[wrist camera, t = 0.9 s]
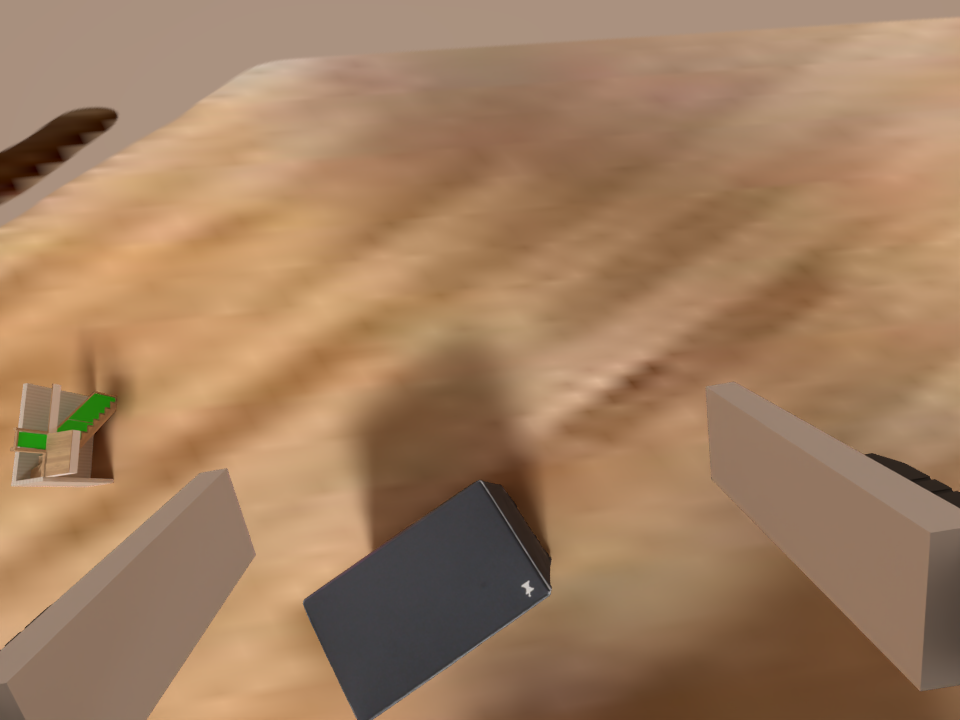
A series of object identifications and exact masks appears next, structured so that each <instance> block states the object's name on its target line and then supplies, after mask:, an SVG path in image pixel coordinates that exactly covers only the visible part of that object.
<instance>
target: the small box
mask: <svg viewBox="0 0 960 720" xmlns="http://www.w3.org/2000/svg"><path fill="white" fill-rule="evenodd" d="M551 560H552V559H551V557H549V555H548V553H547V552H546V551H545V550H544V549H543V548H542V547H541V545H540V542H539V540H537V538H536V536H535V535H534V534H533V532H532V531H531V529H530V528H529V527H528V525H527V523H526V522H525V520H524V517H523V516H522V515H521V514H520V512H519V511H518V509H517V506H516V504H515V503H514V501H513V500H512V499H511V497H510V496H509V495H508V493H507V492H506V491H505V490H504V488H503V487H502V486H501V485H498V484H493V483H489V482H484V481H482V480H478V481H476V482H474V483H473V484H471V485H470V486H468V487H467V488H465V489H464V490H462V491H461V492H459V493H458V494H456V495H455V496H453V497H452V498H450V499H449V500H448V501H446V502H445V503H443V504H442V505H440V506H439V507H437V508H436V509H434V510H433V511H431V512H430V513H428V514H427V515H425V516H424V517H422V518H421V519H419V520H418V521H416V522H415V523H413V524H412V525H410V526H409V527H407V528H406V529H404V530H403V531H401V532H400V533H399V534H397V535H396V536H394V537H393V538H391V539H390V540H389V541H387V542H386V543H384V544H383V545H381V546H380V547H378V548H377V549H376V550H374V551H373V552H371V553H370V554H368V555H367V556H365V557H364V558H363V559H361V560H360V561H358V562H357V563H355V564H354V565H352V566H351V567H350V568H348V569H347V570H345V571H344V572H342V573H341V574H340V575H338V576H337V577H335V578H334V579H332V580H331V581H330V582H328V583H327V584H325V585H324V586H322V587H321V588H320V589H318V590H317V591H315V592H314V593H312V594H311V595H310V596H308V597H307V598H306V599H304V601H303V605H304V608H305V610H306V613H307V615H308V617H309V620H310V622H311V624H312V626H313V628H314V630H315V633H316V635H317V637H318V639H319V641H320V643H321V645H322V647H323V649H324V652H325V654H326V656H327V658H328V660H329V662H330V665H331V666H332V668H333V670H334V673H335V675H336V677H337V679H338V681H339V684H340V686H341V688H342V690H343V692H344V694H345V696H346V698H347V700H348V702H349V704H350V706H351V708H352V710H353V713H354V715H355V717H356V718H357V720H373V719H374V718H376V717H377V716H379V715H380V714H382V713H383V712H384V711H386V710H387V709H389V708H390V707H392V706H393V705H395V704H396V703H397V702H399V701H400V700H402V699H403V698H405V697H406V696H407V695H409V694H410V693H412V692H413V691H414V690H416V689H417V688H419V687H420V686H422V685H423V684H424V683H426V682H427V681H429V680H430V679H432V678H433V677H434V676H436V675H437V674H439V673H440V672H442V671H443V670H445V669H446V668H448V667H449V666H451V665H452V664H453V663H455V662H456V661H457V660H459V659H460V658H462V657H463V656H465V655H466V654H467V653H469V652H470V651H472V650H473V649H474V648H476V647H477V646H479V645H480V644H481V643H483V642H484V641H486V640H487V639H488V638H490V637H491V636H493V635H494V634H496V633H497V632H498V631H500V630H501V629H503V628H504V627H506V626H507V625H509V624H510V623H512V622H513V621H514V620H516V619H517V618H519V617H520V616H521V615H523V614H524V613H526V612H527V611H529V610H530V609H531V608H533V607H534V606H536V605H537V604H538V603H540V602H541V601H543V600H544V599H546V598H547V597H548V596H550V594H551V590H552V587H551V585H550V565H551Z"/></svg>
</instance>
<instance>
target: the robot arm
mask: <svg viewBox="0 0 960 720" xmlns="http://www.w3.org/2000/svg"><path fill="white" fill-rule="evenodd" d="M706 402H707V418H708V434H709V451H710V467H711V479H712V480H713V481H714V482H715V483H716V484H717V485H718V486H719V487H720V488H721V489H722V490H723V491H724V492H725V493H726V494H727V495H728V496H729V497H730V498H731V499H732V500H733V501H734V502H735V503H736V504H737V506H738V507H739V508H740V509H741V510H742V511H743V512H744V513H745V514H746V515H747V516H748V517H749V518H750V519H751V520H752V521H753V522H754V523H755V524H756V525H757V526H758V527H759V528H760V529H761V530H762V531H763V532H764V533H765V534H766V535H767V536H768V537H769V538H770V539H771V540H772V541H773V542H774V543H775V544H776V545H777V546H778V547H779V548H780V549H781V550H782V551H783V552H784V553H785V554H786V555H787V556H788V557H789V558H790V559H791V560H792V561H793V562H794V563H795V564H796V565H797V567H798V568H799V569H800V570H801V571H802V572H803V573H804V574H805V575H806V576H807V577H808V578H809V579H810V580H811V581H812V582H813V583H814V584H815V585H816V586H817V587H818V588H819V589H820V590H821V591H822V592H823V593H824V594H825V595H826V596H827V597H828V598H829V599H830V600H831V601H832V602H833V603H834V604H835V605H836V606H837V607H838V608H839V609H840V610H841V611H842V612H843V613H844V614H845V615H846V616H847V617H848V618H849V619H850V620H851V621H852V622H853V623H854V624H855V625H856V626H857V627H858V629H859V630H860V631H861V632H862V633H863V634H864V635H865V636H866V637H867V638H868V639H869V640H870V641H871V642H872V643H873V644H874V645H875V646H876V647H877V648H878V649H879V650H880V651H881V652H882V653H883V654H884V655H885V656H886V657H887V658H888V659H889V660H890V661H891V662H892V663H893V664H894V665H895V666H896V667H897V668H898V669H899V670H900V671H901V672H902V673H903V674H904V675H905V676H906V677H907V678H908V679H909V680H910V681H911V682H912V683H913V684H914V685H915V686H916V687H917V688H918V690H919V691H925V690H932V689H938V688H945V687H951V686H957V685H960V492H958V491H954V492H953V491H952V488H950V487H949V486H947V485H945V484H943V483H941V482H939V481H937V480H935V479H934V480H931V479H930V476H928V475H926V474H924V473H922V472H920V471H918V470H916V469H915V468H913V467H911V466H909V465H907V464H905V463H902V462H899V461H896V460H893V459H889V458H886V457H883V456H880V455H876V454H873V453H871V454H865V455H864V454H862V453H860V452H858V451H857V450H855V449H853V448H851V447H850V446H848V445H846V444H844V443H842V442H841V441H839V440H837V439H835V438H833V437H832V436H830V435H828V434H826V433H825V432H823V431H821V430H819V429H817V428H816V427H814V426H812V425H810V424H809V423H807V422H805V421H803V420H801V419H800V418H798V417H796V416H794V415H793V414H791V413H789V412H787V411H785V410H784V409H782V408H780V407H778V406H777V405H775V404H773V403H771V402H769V401H768V400H766V399H764V398H762V397H761V396H759V395H757V394H755V393H753V392H752V391H750V390H748V389H746V388H744V387H743V386H741V385H739V384H737V383H736V382H729V383H724V384H718V385H712V386H706ZM255 555H256V554H255V551H254V548H253V545H252V542H251V538H250V535H249V532H248V529H247V526H246V523H245V520H244V517H243V514H242V511H241V508H240V505H239V502H238V499H237V496H236V493H235V490H234V487H233V484H232V481H231V478H230V475H229V472H228V469H227V468H226V469H220V470H214V471H208V472H203V473H199V474H198V475H197V476H196V477H195V478H194V479H193V480H191V481H190V482H189V483H188V484H187V485H186V486H185V487H184V488H182V489H181V490H180V491H179V492H178V493H177V494H176V495H175V496H173V497H172V498H171V499H170V500H169V501H168V502H167V503H166V504H164V505H163V506H162V507H161V508H160V509H159V510H158V511H157V512H156V513H154V514H153V515H152V516H151V517H150V518H149V519H148V520H147V521H145V522H144V523H143V524H142V525H141V526H140V527H139V528H138V529H136V530H135V531H134V532H133V533H132V534H131V535H130V536H129V537H127V538H126V539H125V540H124V541H123V542H122V543H121V544H120V545H118V546H117V547H116V548H115V549H114V550H113V551H112V552H111V553H109V554H108V555H107V556H106V557H105V558H104V559H103V560H102V561H101V562H99V563H98V564H97V565H96V566H95V567H94V568H93V569H92V570H90V571H89V572H88V573H87V574H86V575H85V576H84V577H83V578H81V579H80V580H79V581H78V582H77V583H76V584H75V585H74V586H72V587H71V588H70V589H69V590H68V591H67V592H66V593H65V594H63V595H62V596H61V597H60V598H59V599H58V600H57V601H56V602H55V603H53V604H52V605H50V606H49V607H48V608H46V609H45V610H44V611H43V612H42V613H41V614H40V615H39V616H37V617H36V618H35V619H34V620H33V621H32V622H31V623H30V624H28V625H27V626H26V627H25V629H24V630H23V631H22V632H19V633H18V634H17V635H16V636H15V637H14V638H13V639H12V640H10V641H9V642H8V643H7V644H6V645H5V647H4V648H3V649H2V650H0V720H147V718H148V716H149V715H150V713H151V712H152V710H153V709H154V707H155V706H156V704H157V703H158V701H159V700H160V698H161V697H162V695H163V694H164V692H165V691H166V689H167V688H168V686H169V685H170V683H171V682H172V680H173V679H174V677H175V676H176V674H177V673H178V671H179V670H180V668H181V667H182V665H183V664H184V662H185V661H186V659H187V658H188V656H189V655H190V653H191V652H192V650H193V649H194V647H195V646H196V644H197V643H198V641H199V640H200V638H201V637H202V635H203V634H204V632H205V631H206V629H207V628H208V626H209V625H210V623H211V622H212V620H213V619H214V617H215V615H216V614H217V612H218V611H219V609H220V608H221V606H222V605H223V603H224V602H225V600H226V599H227V597H228V596H229V594H230V593H231V591H232V590H233V588H234V587H235V585H236V584H237V582H238V581H239V579H240V578H241V576H242V575H243V573H244V572H245V570H246V569H247V567H248V566H249V564H250V563H251V561H252V560H253V558H254V557H255Z"/></svg>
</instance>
